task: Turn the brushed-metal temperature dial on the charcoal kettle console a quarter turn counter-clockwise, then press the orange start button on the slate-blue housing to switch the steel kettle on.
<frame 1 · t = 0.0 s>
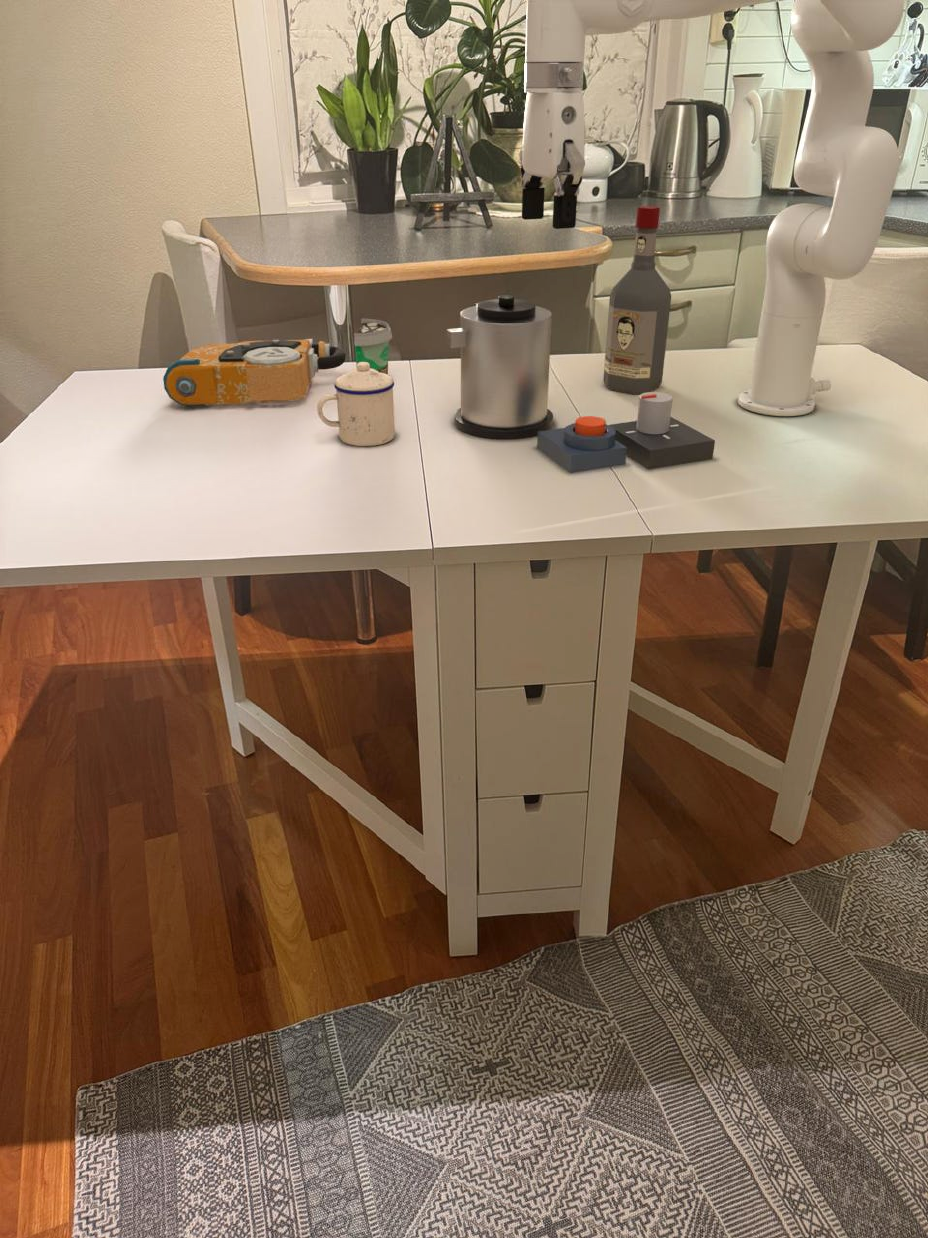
hand: (547, 223, 126), 31 cm above the table, tool pointing down, fingers open, 9 cm apart
console: (658, 451, 137), on the table
start button: (590, 426, 132), point 5 cm above the table, slide at 0.1 cm
dial: (654, 412, 136), point 6 cm above the table, hinge at 0.0°
device: (262, 391, 165), on the table
kettle: (503, 423, 149), on the table
teacup with lid: (358, 439, 143), on the table
food container: (377, 381, 170), on the table
liquor: (631, 387, 166), on the table
button housing: (580, 456, 136), on the table
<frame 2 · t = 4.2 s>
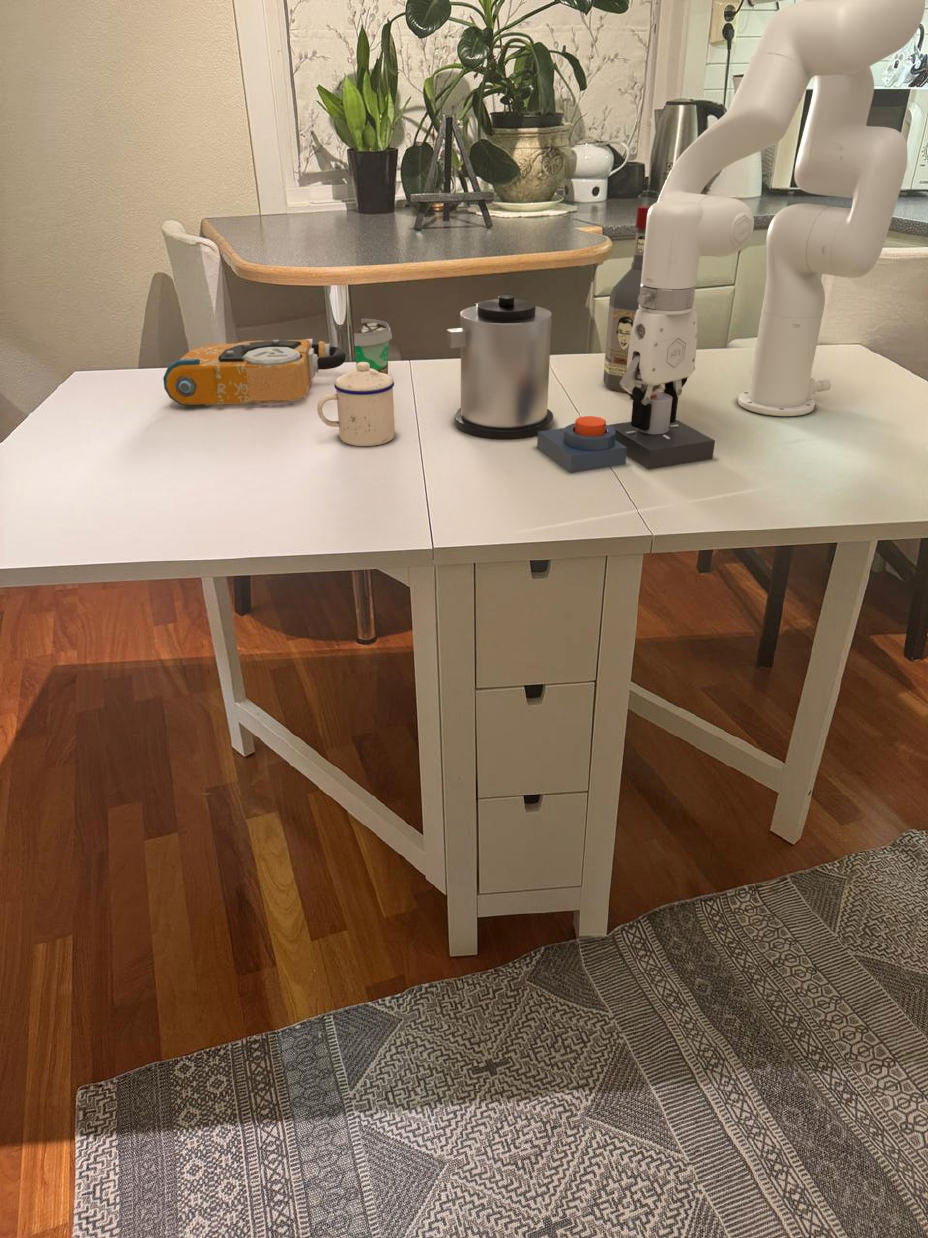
hand: (653, 423, 136), 4 cm above the table, tool pointing down, fingers closed on dial, 4 cm apart
dial: (654, 412, 136), point 6 cm above the table, hinge at 0.0°, touching gripper
everything else where it was.
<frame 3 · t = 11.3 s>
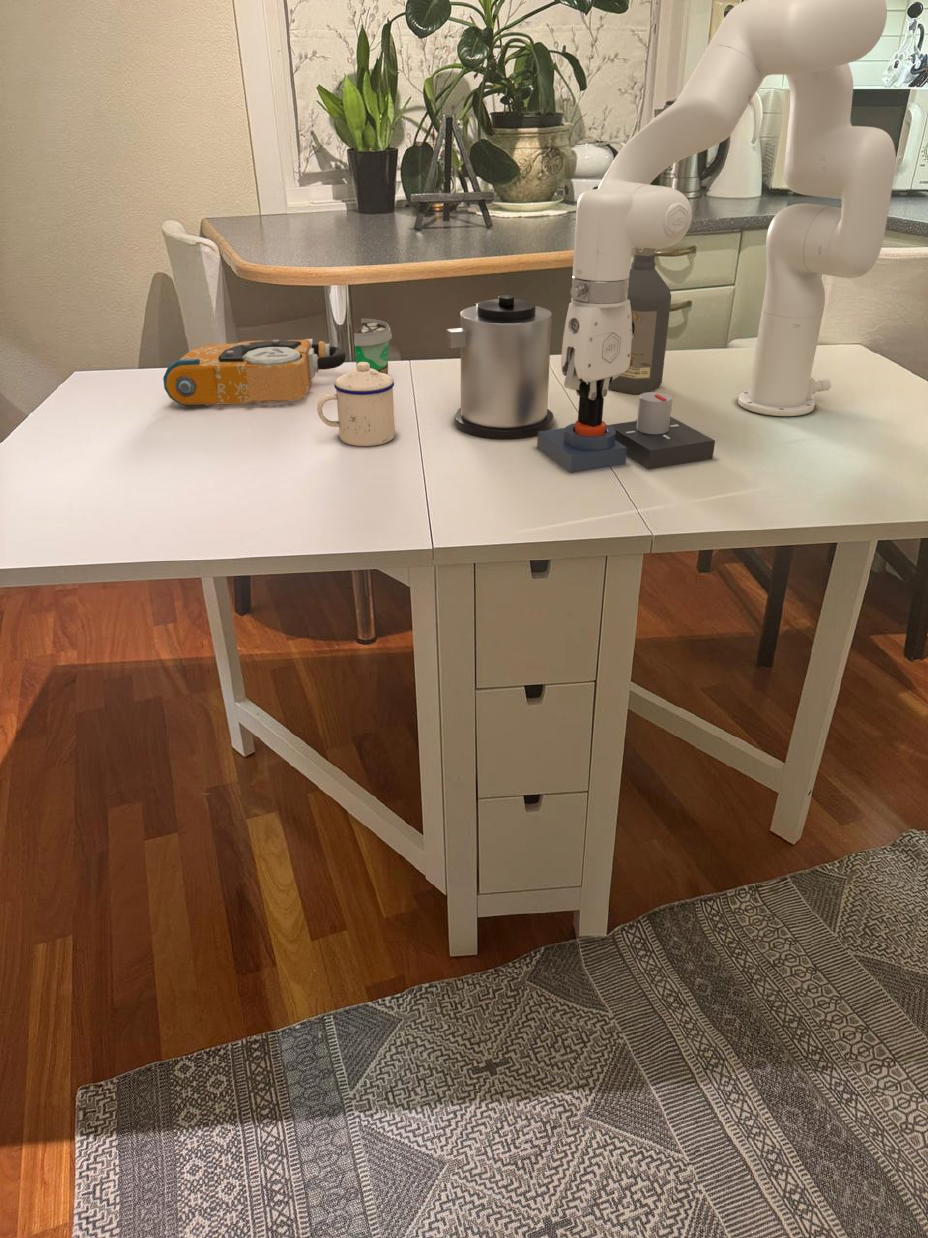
hand: (589, 423, 132), 6 cm above the table, tool pointing down, fingers closed
start button: (590, 428, 132), point 5 cm above the table, slide at -0.2 cm, touching gripper
dial: (654, 412, 136), point 6 cm above the table, hinge at 89.8°
everything else where it was.
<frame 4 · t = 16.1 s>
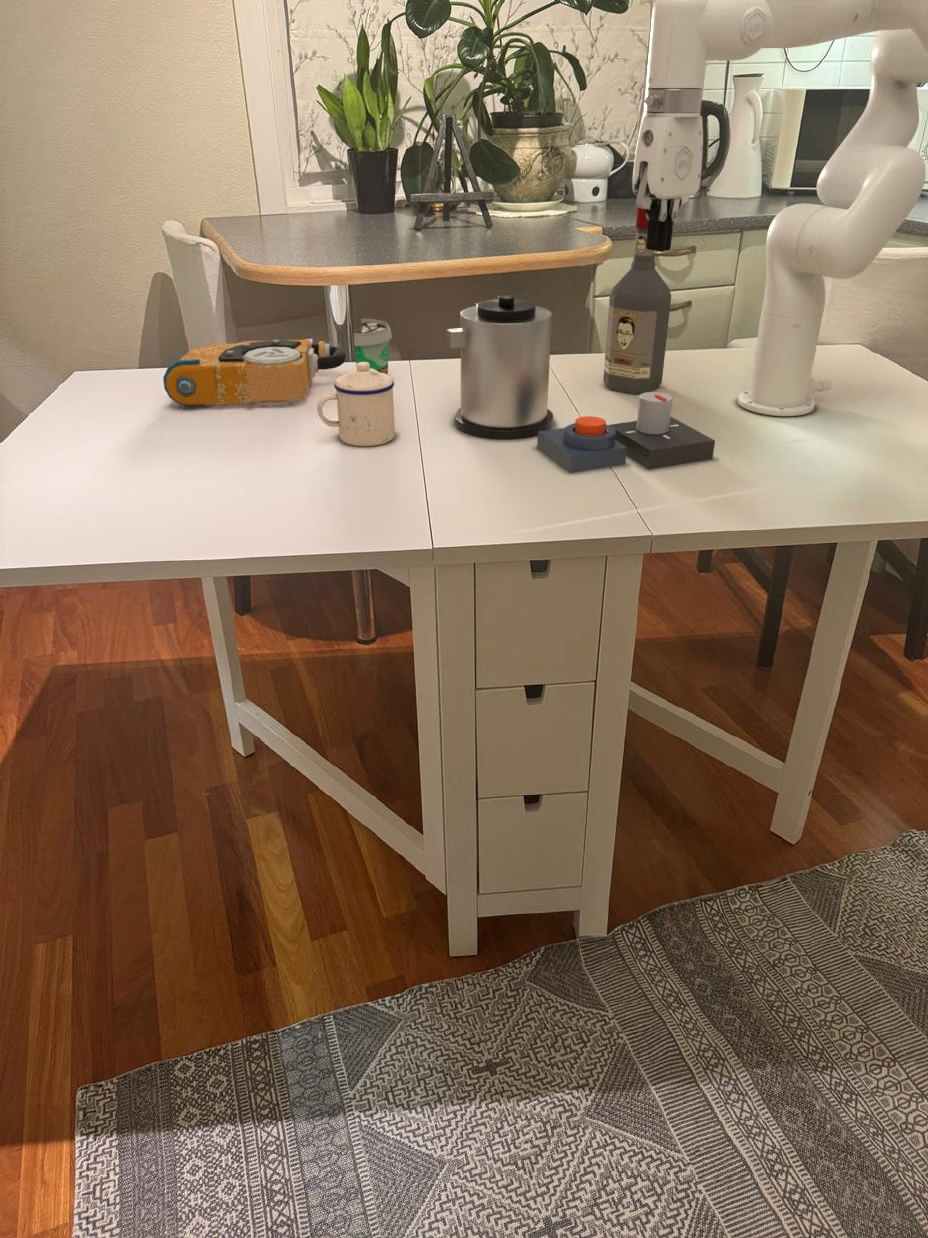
hand: (658, 249, 132), 27 cm above the table, tool pointing down, fingers closed
start button: (590, 426, 132), point 5 cm above the table, slide at 0.1 cm
everything else where it was.
at the end: dial at +90° (first picture: +0°); start button pushed in 1.1 cm at the most during the clip, back to where it started at the end; start button slide at 0.1 cm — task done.
